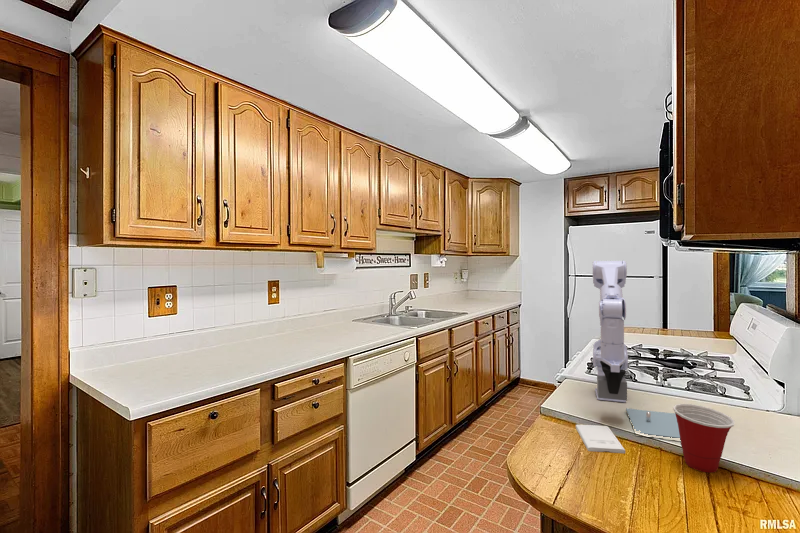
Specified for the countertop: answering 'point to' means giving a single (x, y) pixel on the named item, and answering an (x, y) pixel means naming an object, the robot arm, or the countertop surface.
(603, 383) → the gray rectangular block
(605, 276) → the robot arm
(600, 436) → the external hard drive
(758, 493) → the countertop surface
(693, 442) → the plastic cup
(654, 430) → the tray
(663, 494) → the countertop surface
